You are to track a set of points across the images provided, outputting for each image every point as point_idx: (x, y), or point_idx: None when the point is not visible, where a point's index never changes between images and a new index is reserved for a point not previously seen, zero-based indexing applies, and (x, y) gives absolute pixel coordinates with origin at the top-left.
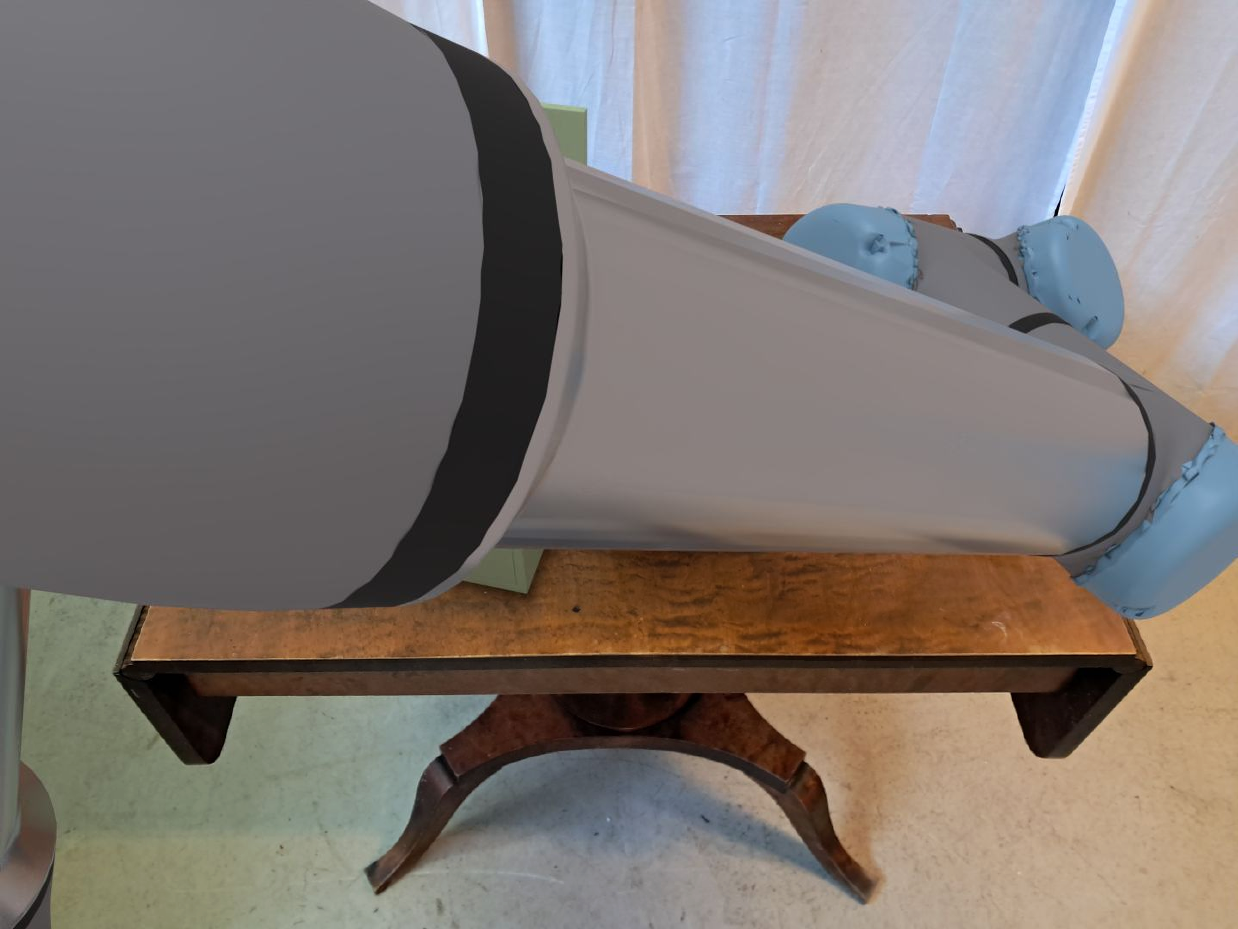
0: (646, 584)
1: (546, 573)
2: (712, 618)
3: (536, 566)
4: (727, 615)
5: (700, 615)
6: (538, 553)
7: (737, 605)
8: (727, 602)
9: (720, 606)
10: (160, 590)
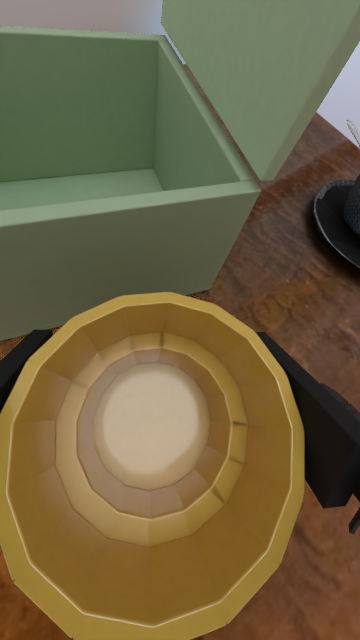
0: None
1: (4, 352)
2: (4, 610)
3: (4, 338)
4: (18, 632)
5: (3, 586)
6: (9, 332)
7: (43, 635)
8: (43, 613)
9: (31, 607)
10: None
